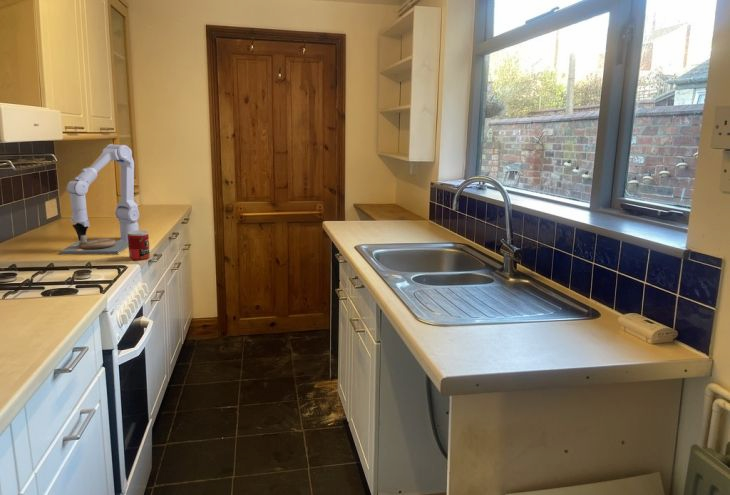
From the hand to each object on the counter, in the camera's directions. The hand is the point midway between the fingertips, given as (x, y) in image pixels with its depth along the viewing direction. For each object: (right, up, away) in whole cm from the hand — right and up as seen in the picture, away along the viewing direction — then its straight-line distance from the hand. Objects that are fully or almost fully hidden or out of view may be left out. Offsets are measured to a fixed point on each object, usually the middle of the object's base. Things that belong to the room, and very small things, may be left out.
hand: (82, 240), depth 236 cm
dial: (+5, -2, +3) cm, 6 cm away
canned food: (+28, -8, -8) cm, 30 cm away
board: (+5, -4, +4) cm, 7 cm away
